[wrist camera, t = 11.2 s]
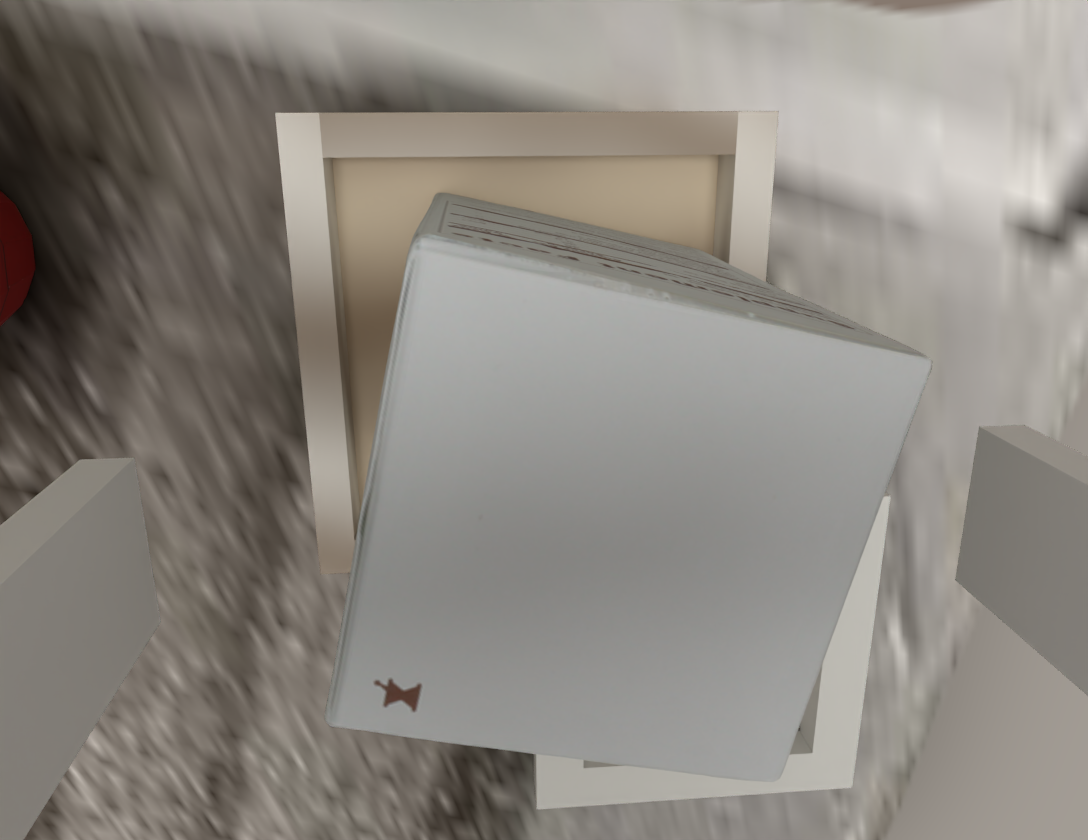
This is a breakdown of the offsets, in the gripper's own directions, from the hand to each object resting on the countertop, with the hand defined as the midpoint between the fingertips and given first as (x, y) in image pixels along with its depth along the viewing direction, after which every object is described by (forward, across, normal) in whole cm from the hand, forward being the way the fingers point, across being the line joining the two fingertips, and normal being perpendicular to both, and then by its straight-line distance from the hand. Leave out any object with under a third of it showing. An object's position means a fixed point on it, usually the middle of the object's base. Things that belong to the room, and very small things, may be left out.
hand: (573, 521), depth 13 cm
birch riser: (+19, 0, 0) cm, 19 cm away
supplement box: (+11, 0, 0) cm, 11 cm away
